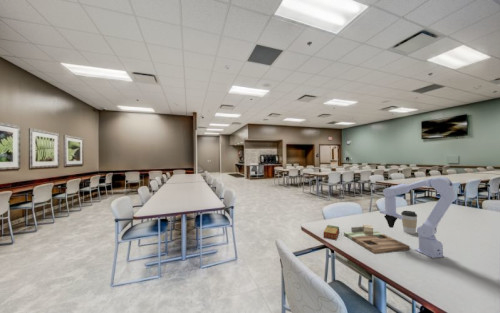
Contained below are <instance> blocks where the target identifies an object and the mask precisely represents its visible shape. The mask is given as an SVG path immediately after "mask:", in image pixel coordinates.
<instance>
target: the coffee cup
mask: <svg viewBox="0 0 500 313" xmlns="http://www.w3.org/2000/svg"><path fill="white" fill-rule="evenodd" d="M400 215H401V216H403V219H401V223H402V224H401V225H402V228H403V232H404V233H407V234H410V235H413V234H414V235H416V233H417V225H418V224H417V223H418V218H417V217H418V215H417V213H416V212H415V211H412V210H411V211H410V210H402V211H401V213H400Z"/></svg>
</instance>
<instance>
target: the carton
mask: <svg viewBox="0 0 500 313" xmlns="http://www.w3.org/2000/svg"><path fill="white" fill-rule="evenodd" d="M339 234H340V226H338V225H337V226H336V225H330V224H328V225H326V227H325V229H324V231H323V238H326V239H332V240H337V238H338V235H339Z"/></svg>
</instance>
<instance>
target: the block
mask: <svg viewBox="0 0 500 313" xmlns="http://www.w3.org/2000/svg"><path fill="white" fill-rule="evenodd" d="M362 226H363V232H364V234H367V235H373V230H374V227H373V226H372V225H371V224H363V225H362Z"/></svg>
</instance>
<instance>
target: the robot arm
mask: <svg viewBox="0 0 500 313" xmlns="http://www.w3.org/2000/svg"><path fill="white" fill-rule="evenodd" d="M423 187H427V188H433V189H434V190H435V191H437V192H438V194H439V196H440V198H439V199H438V201H437V202H436V204H435V205H434V207H433V208H432V211H431V212H430V213H429V215H428V217H427V219H425V221H424V222H423V223H422V225H421V226H419V227H416V233H417V234H418V248H414V251H417V252H419V253H421V254H423V255H425V256H427V257H429V258H432V259H435V258H444V257H445V255H444V247H443V243H442V242H441V241H439V240H438V239H437V237H436V236H435V235H436V234H437V228H438V226H439V223H440V222H441V220H442V219H443V217H444V216H445V215H446V213H447V211H448V209H449V208H450V206H451V205H452V203H453V202H454V200H455V199H456V192H455V189H454V183H453V182H452V180H450V178H448V177H445V176H439V177H433V178H427V179H422V180H419V181H415V182H412V183H409V184H407V183H401V182H400V183H398V184H397V185H391V186H390V187H386V188H384V189H383V190H382V193H383V195H384V210H383V209H381V210H379V214H383V215H384V219H385V221H386V222H387V225H388V228H390V229H391V228H392V229H393V228H394V227H395V224H396V221H397V220H402V219H403V216H402V214H398V212H397V201H396V200H397V199H396V198H397V197H396V196H399V195H403V194H407V193H409V192H410V191H411V190H413V189H418V188H423Z"/></svg>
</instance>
